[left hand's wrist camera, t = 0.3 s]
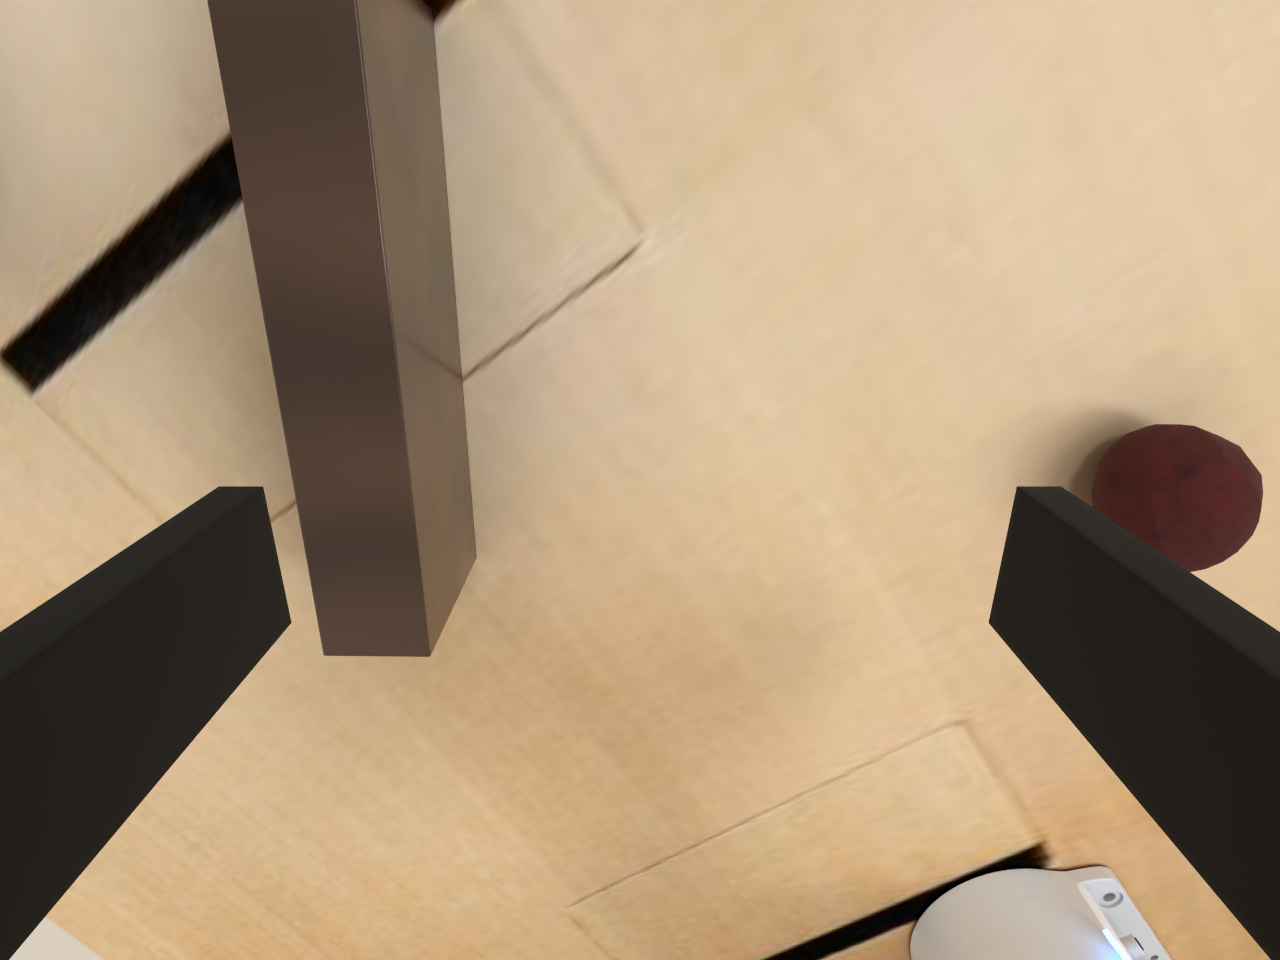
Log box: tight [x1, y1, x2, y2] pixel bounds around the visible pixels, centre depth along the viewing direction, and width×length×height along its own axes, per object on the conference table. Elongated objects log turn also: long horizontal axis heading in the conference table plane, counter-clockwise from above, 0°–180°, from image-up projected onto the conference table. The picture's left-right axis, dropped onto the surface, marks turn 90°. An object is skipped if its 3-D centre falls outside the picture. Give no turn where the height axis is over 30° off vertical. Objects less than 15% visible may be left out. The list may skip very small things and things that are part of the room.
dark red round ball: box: [1092, 424, 1263, 572], centre depth 37 cm, size 7×8×7 cm
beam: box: [207, 0, 476, 657], centre depth 32 cm, size 28×5×10 cm, turn 179°
